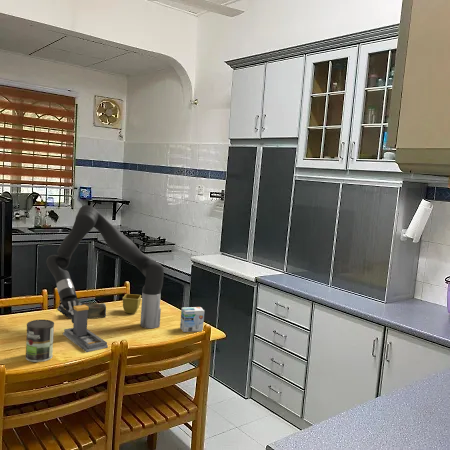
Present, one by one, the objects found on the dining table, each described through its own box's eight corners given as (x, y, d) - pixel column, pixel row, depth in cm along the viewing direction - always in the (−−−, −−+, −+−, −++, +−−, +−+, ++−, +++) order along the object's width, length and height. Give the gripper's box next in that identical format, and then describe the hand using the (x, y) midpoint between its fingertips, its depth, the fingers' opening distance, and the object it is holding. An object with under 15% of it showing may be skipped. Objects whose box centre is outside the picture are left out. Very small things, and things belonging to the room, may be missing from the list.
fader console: (63, 334, 212) (63, 329, 211) (83, 330, 218) (83, 325, 218) (86, 352, 194) (86, 346, 194) (107, 347, 201) (108, 342, 200)
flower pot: (137, 315, 248) (138, 299, 247) (121, 314, 248) (122, 297, 247) (140, 310, 257) (141, 294, 256) (125, 309, 257) (126, 293, 256)
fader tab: (72, 334, 210) (73, 306, 208) (83, 332, 213) (84, 304, 212) (76, 336, 207) (77, 308, 205) (87, 334, 210) (88, 306, 209)
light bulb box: (183, 332, 227) (184, 311, 226) (179, 327, 234) (180, 307, 232) (203, 331, 231) (205, 310, 230) (199, 326, 238) (200, 306, 236)
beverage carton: (106, 318, 240) (106, 306, 239) (67, 319, 233) (67, 307, 232) (104, 313, 247) (105, 301, 246) (67, 314, 241) (67, 302, 240)
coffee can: (40, 364, 179) (41, 329, 178) (19, 358, 183) (20, 324, 181) (58, 355, 189) (59, 322, 187) (38, 350, 192) (39, 317, 191)
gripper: (77, 293, 225) (86, 325, 217) (50, 296, 216) (59, 329, 208) (82, 285, 220) (92, 317, 213) (55, 288, 212) (64, 321, 204)
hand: (76, 323), depth 210 cm, fingers closed
